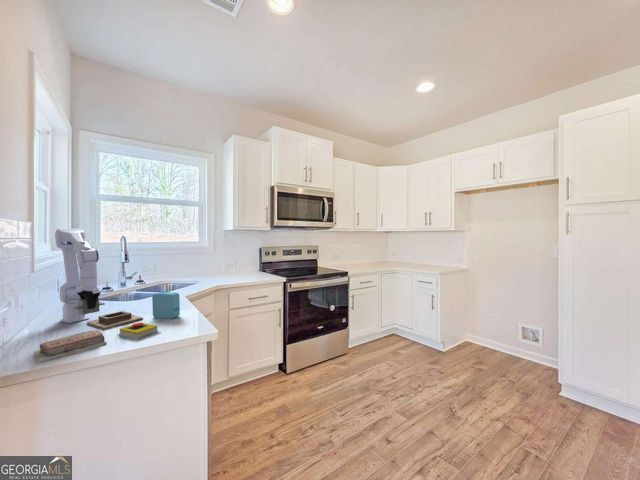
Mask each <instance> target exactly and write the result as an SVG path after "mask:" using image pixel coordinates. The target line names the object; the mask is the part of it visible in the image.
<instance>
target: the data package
mask: <svg viewBox="0 0 640 480" xmlns="http://www.w3.org/2000/svg"><path fill="white" fill-rule="evenodd" d="M151 297H152V300H151V301H152V316H153V317H154V318H155V319H164V320H165V319H167V320H172V319H175V318H177V317H179V316H180V315H181V313H180V312H181V311H180V309H181V308H180V302H181V301H180V294H179V293H178V292H175V291H174V292H172V291H171V292H170V291H169V292H168V291H160V292H156V293H153V294H152V296H151Z"/></svg>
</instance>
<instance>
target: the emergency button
mask: <svg viewBox="0 0 640 480" xmlns="http://www.w3.org/2000/svg"><path fill="white" fill-rule="evenodd" d="M159 334H162V331H159V330H158V325H155V324H151V323H146V322H134V323H133V324H130V325H127V326H124V327H123V326H122V327H121V328H119V333H117V335H116V336H117V337H118V336H119V337H123V338H127V339H131V340H136V341H142V340H146V339H148V338H151V337H153V336H157V335H159Z"/></svg>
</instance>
